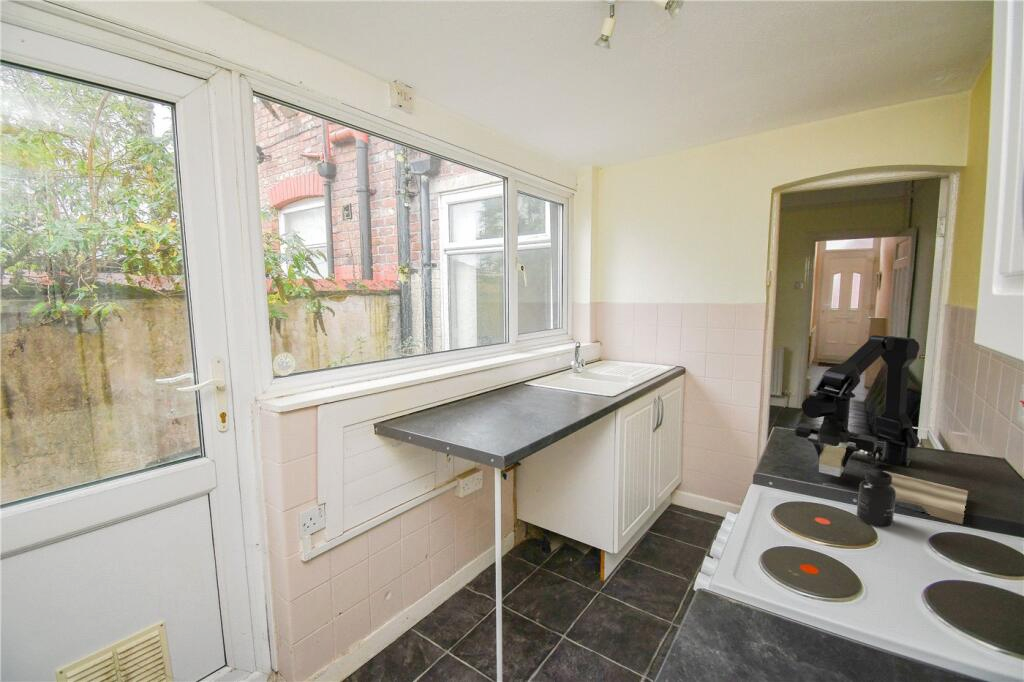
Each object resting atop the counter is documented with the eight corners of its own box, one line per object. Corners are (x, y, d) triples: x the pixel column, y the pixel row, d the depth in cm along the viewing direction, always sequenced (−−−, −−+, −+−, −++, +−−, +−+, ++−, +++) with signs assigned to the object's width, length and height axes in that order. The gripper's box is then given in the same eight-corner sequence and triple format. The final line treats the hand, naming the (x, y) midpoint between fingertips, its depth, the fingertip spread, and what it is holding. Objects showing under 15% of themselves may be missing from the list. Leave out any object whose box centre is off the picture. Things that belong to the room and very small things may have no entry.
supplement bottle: (895, 531, 102) (900, 482, 101) (858, 523, 106) (862, 476, 104) (889, 517, 108) (894, 471, 106) (854, 510, 112) (858, 465, 110)
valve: (828, 456, 144) (872, 469, 134) (829, 437, 143) (874, 448, 133) (837, 451, 147) (881, 464, 137) (839, 432, 146) (883, 443, 136)
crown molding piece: (882, 479, 127) (883, 470, 127) (966, 499, 115) (968, 490, 114) (871, 498, 117) (872, 490, 117) (962, 524, 104) (963, 514, 104)
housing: (825, 460, 135) (826, 445, 134) (845, 465, 131) (847, 449, 131) (818, 471, 128) (819, 455, 127) (839, 476, 124) (841, 460, 124)
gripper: (790, 413, 129) (787, 463, 131) (871, 428, 115) (866, 484, 117) (802, 404, 136) (799, 452, 138) (880, 417, 122) (875, 470, 124)
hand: (832, 464), depth 129 cm, fingers closed on housing, 5 cm apart
